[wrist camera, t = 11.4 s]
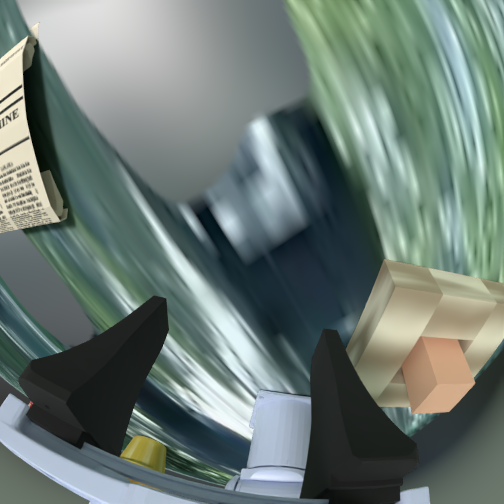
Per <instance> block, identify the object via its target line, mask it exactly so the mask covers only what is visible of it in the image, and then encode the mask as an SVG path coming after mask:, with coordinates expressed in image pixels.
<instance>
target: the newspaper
mask: <svg viewBox="0 0 504 504" xmlns="http://www.w3.org/2000/svg"><path fill="white" fill-rule="evenodd" d="M39 23H40V22H38V23H37V24H36V25H35V26H33V27H32V28H30V30H31V31H32V33H33V34H34V36H35V37H32V36H27V37H26V38H25V39H24V40H22V41H21V42H20V43H19V44H17V45H16V46H15V47H14V48H13V49H11V50H10V51H9V52H8V53H7V54H6V55H4V56H3V57H2V58H1V59H0V233H4V232H8V231H13V230H18V229H23V228H28V227H33V226H38V225H44V224H49V223H55V222H60V221H62V220H65V219H67V213H68V208H67V209H63V200H62V198H61V195H60V193H59V191H58V189H57V186H56V184H55V182H54V179H53V177H52V175H51V172H50V170H47V171H45V172H42V173H40V171H39V167H38V164H37V160H36V156H35V152H34V149H33V145H32V140H31V136H30V132H29V127H28V123H27V117H26V108H25V98H24V84H23V72H24V71H25V70H26V69H28V68H29V67H31V65H32V57H33V54H34V51H35V50H34V47H33V46H34V45H36V44H37V42H36V40H35V38H36V39H37V41H38V43H39V39H38V25H39Z"/></svg>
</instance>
